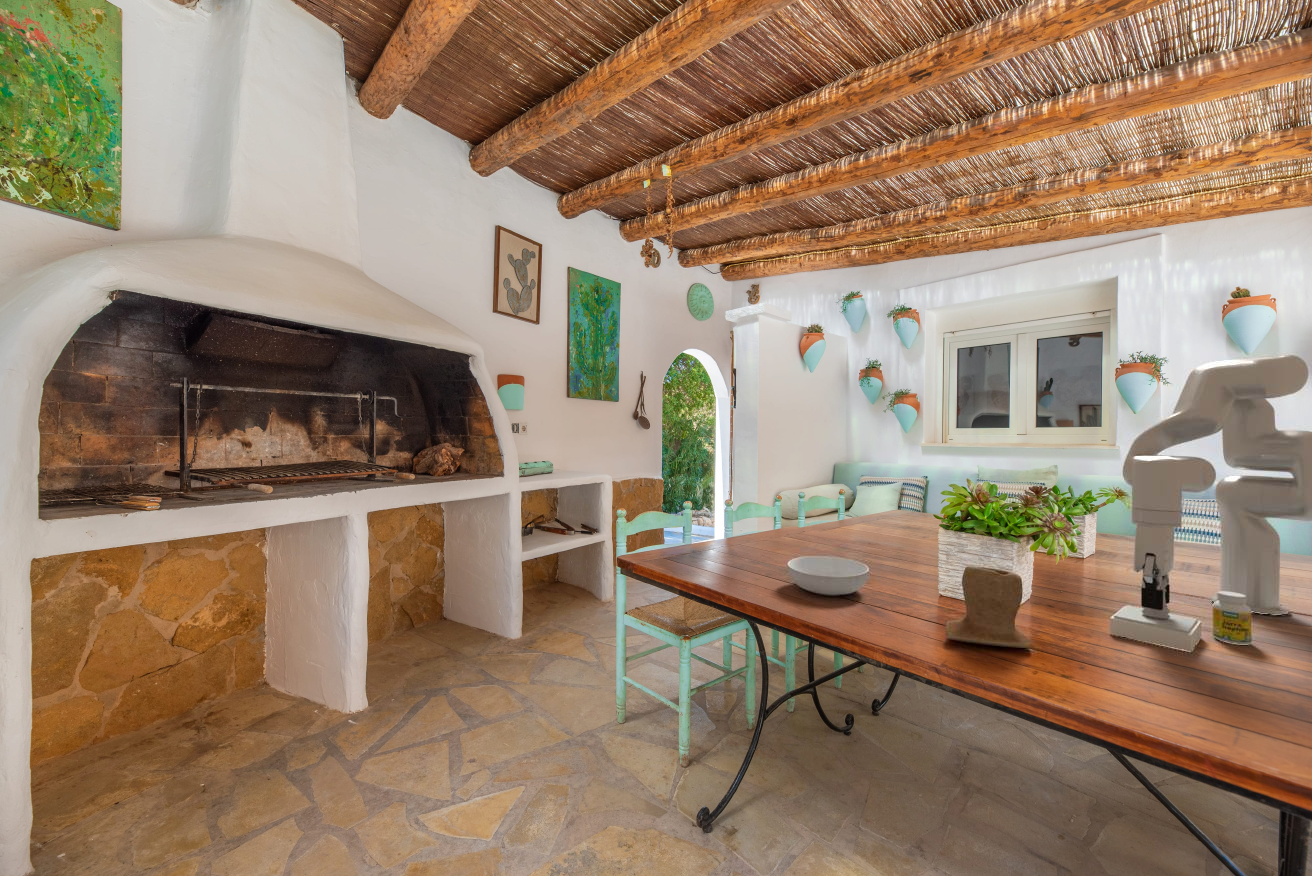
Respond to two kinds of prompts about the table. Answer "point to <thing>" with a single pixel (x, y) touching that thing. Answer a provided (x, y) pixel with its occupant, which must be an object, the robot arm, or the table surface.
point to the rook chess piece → (1165, 611)
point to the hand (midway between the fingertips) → (1155, 604)
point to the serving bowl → (828, 574)
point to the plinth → (1156, 628)
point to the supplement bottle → (1232, 618)
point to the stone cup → (989, 609)
